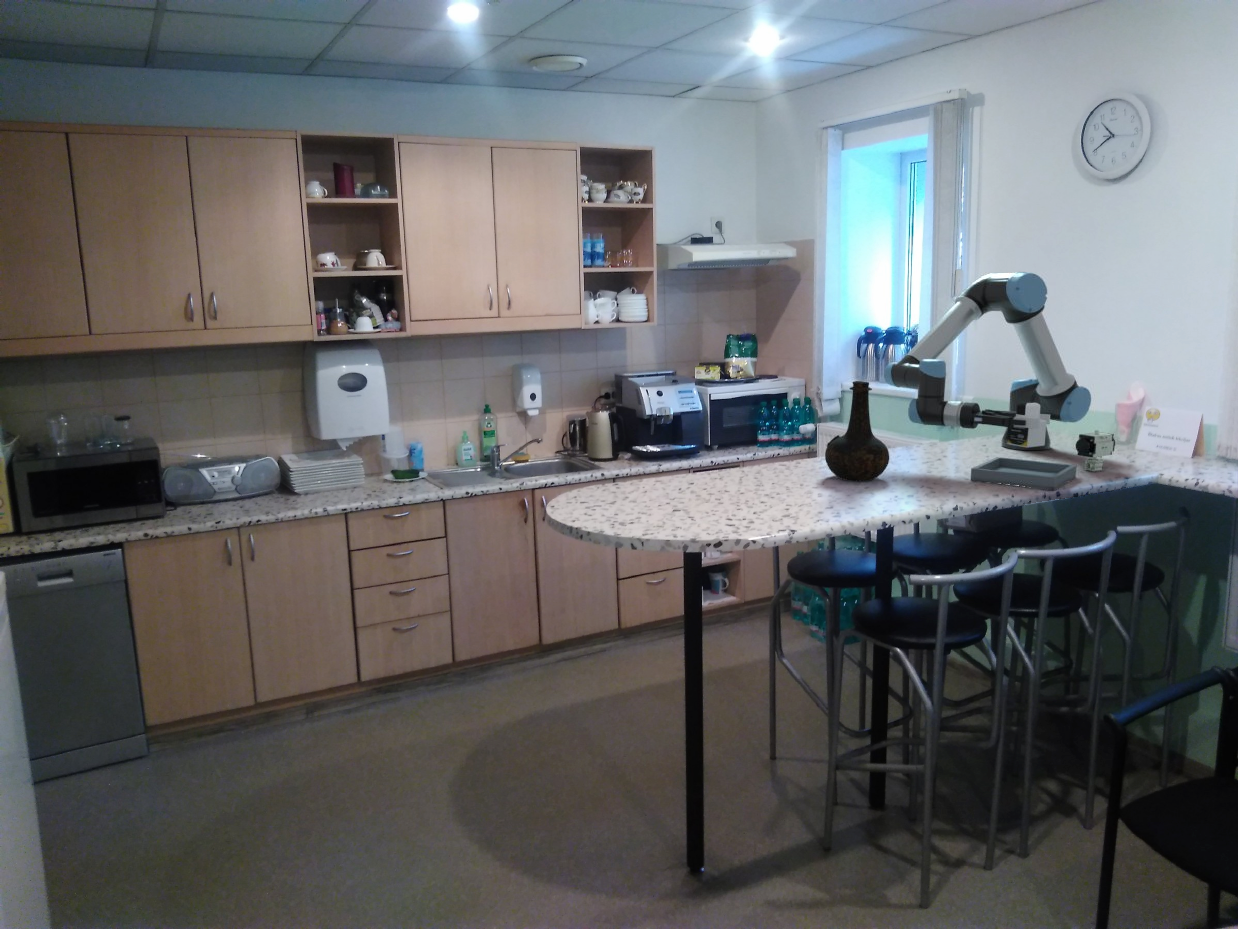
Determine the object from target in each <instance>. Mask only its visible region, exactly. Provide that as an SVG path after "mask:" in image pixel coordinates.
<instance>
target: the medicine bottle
mask: <svg viewBox="0 0 1238 929" xmlns="http://www.w3.org/2000/svg"><path fill="white" fill-rule="evenodd" d="M1016 417H1026V418H1039V417H1040V404H1038V403H1034V402H1020V403H1018V404H1017V409H1016ZM1046 426H1047V424H1046V421H1045V420H1040V425H1039V429H1035V428H1024V427H1014V425H1013V429H1009V426H1008V433H1007V444H1010V445H1015V446H1021V447H1026V448H1028V447H1037V446H1044V445H1045V434H1046Z"/></svg>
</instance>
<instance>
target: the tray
mask: <svg viewBox="0 0 1238 929" xmlns="http://www.w3.org/2000/svg"><path fill="white" fill-rule="evenodd" d="M970 469H971V470H970V482H977V481H981V482H980V483H985V482H990V483H989V484H993V483H1001V484H1010V485H1019V486H1025V487H1031V488H1030V489H1034V488H1036V489H1035V490H1043V491H1053V492H1055V491H1057V490H1058V489H1059V487H1060V488H1062V485H1063V484H1064V485H1066V484H1068V483H1069V482H1070V480H1071V481H1072V480H1073V478H1074V479H1076V477H1077V465H1075V464H1068V463H1067V464H1066V463H1059V462H1047V461H1040V460H1039V461H1037V460H1029V459H1022V458H1021V459H1019V458H1011V457H1004V456H1003V457H1001V456H996V457H994V458H991V459H988V460H987V461H985V462H983V463H979V464H978V465H976V466H974V467H971V468H970ZM1068 481H1069V482H1068ZM1065 483H1066V484H1065ZM1001 484H1000V485H1001ZM1064 485H1063V486H1064ZM1025 487H1024V488H1025Z"/></svg>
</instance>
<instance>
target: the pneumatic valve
mask: <svg viewBox="0 0 1238 929" xmlns="http://www.w3.org/2000/svg"><path fill="white" fill-rule="evenodd" d="M1115 446H1116V440H1115V437H1114V433H1109V432H1104V431H1099V430H1098V429H1097V430H1094V432H1089V433H1079V434H1078V439H1077V441H1076V443H1075V449H1076V451H1077V453H1076V454H1077V456H1082V457H1086V458H1085V460H1084V462H1085V463H1084V471H1086V470H1087V471H1089V472H1093V471H1094V472H1093V473H1096V472H1095V471H1097V472H1102V471H1103V468H1102V467H1103V465H1104V463H1103V462H1104V459H1101V458H1103V457H1104V456H1111V455H1112V454H1113V453H1114V452H1115V448H1116V447H1115ZM1097 458H1098V459H1097ZM1099 458H1100V459H1099Z"/></svg>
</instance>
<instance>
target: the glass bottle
mask: <svg viewBox="0 0 1238 929" xmlns="http://www.w3.org/2000/svg"><path fill="white" fill-rule="evenodd" d="M851 383H852V386H851V387H849V390H851V391H852V396H851V398H852V399H851V406H850V407H851V408H850V413H849V414H850V415H849V421H848V426H847V429H846V432H845V433H844V434H843V435H842V436H840V435H839V434H837V435H836V436H834V437H833V438H832V439H831V440H830V441H829V442H827V444H826V448H825V452H824V459H825V462H826V465H827V468H828V469H829V471H831V473H832V474H833V475H834V476H836V477H838V478H839V479H841V480H843V481H848V482H868V481H873V480H875V479H876V478H879V476H881V475H882V474H883V473H884V472H885V470H886V469H887V467H888V465H889V462H890V452H889V449H888V447H887V446H886V444H885V443H884V442H883V441H882V440H880V439H879V438H877V437H876V436H875V435H874V433H873V431H872V426H871V418H870V403H869V402H870V400H869V399H870V398H869V397H870V396H869V391H872V390H873V388H871V387H870V386H869V385H870V382H868V381H863V380H862V381H861V380H854V381H852V382H851Z"/></svg>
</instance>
